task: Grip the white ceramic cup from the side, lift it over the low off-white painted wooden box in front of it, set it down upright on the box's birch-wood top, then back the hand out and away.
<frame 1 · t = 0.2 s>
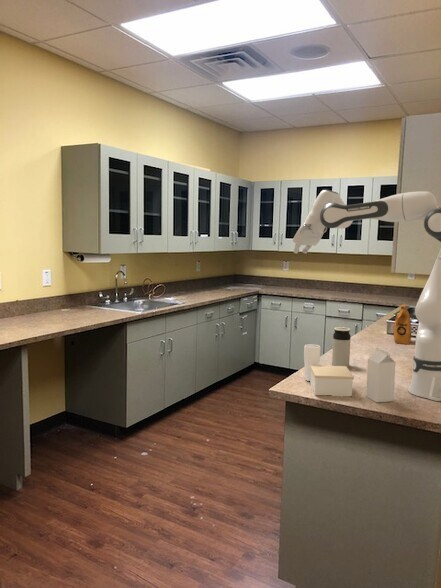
hand: (299, 252, 207), 54 cm above the countertop, tool tilted 25°, fingers open, 8 cm apart
painted box: (330, 390, 186), on the countertop
coffee package: (401, 342, 275), on the countertop
white ceramic cup: (311, 380, 198), on the countertop
travel mug: (340, 365, 222), on the countertop
milk carton: (379, 399, 176), on the countertop
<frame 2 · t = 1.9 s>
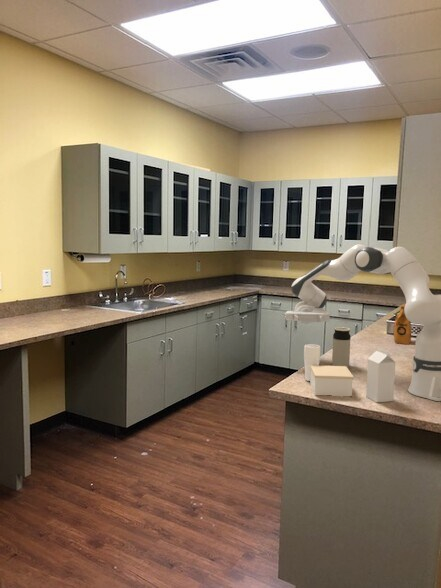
hand: (309, 319, 209), 24 cm above the countertop, tool horizontal, fingers open, 8 cm apart
nothing on the countertop moved.
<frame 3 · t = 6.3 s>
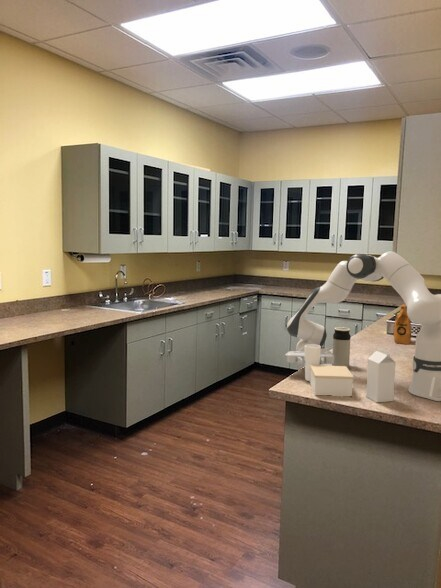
hand: (312, 362, 196), 8 cm above the countertop, tool horizontal, fingers closed on white ceramic cup, 6 cm apart
white ceramic cup: (311, 380, 198), on the countertop, touching gripper
everything else where it was.
when the fingers open (17 cm above the countertop, at t = 11.6 s): white ceramic cup moves 2 cm, resting on painted box.
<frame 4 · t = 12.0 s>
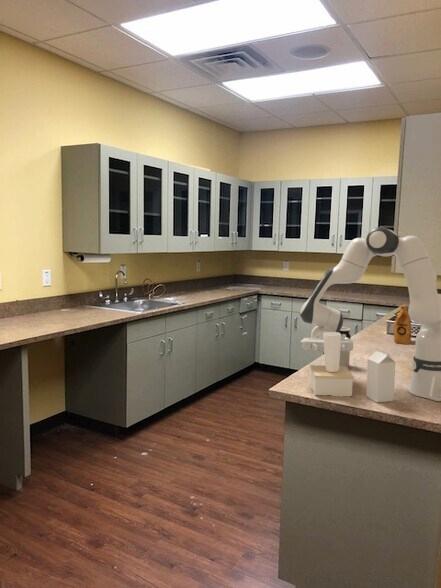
hand: (330, 349, 182), 17 cm above the countertop, tool horizontal, fingers open, 8 cm apart
white ceramic cup: (332, 371, 184), point 8 cm above the countertop, touching gripper, painted box
everything else where it was.
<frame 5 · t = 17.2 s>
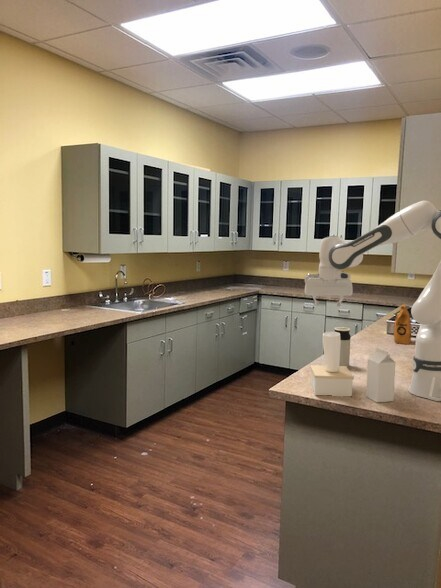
hand: (327, 305, 202), 31 cm above the countertop, tool pointing down, fingers open, 8 cm apart
white ceramic cup: (332, 370, 184), point 8 cm above the countertop, touching painted box
everything else where it was.
at the end: white ceramic cup inside the target area on the painted box (0.6 cm from its centre), point 8.1 cm above the painted box's base; white ceramic cup tilted 5°; the gripper is holding nothing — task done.
